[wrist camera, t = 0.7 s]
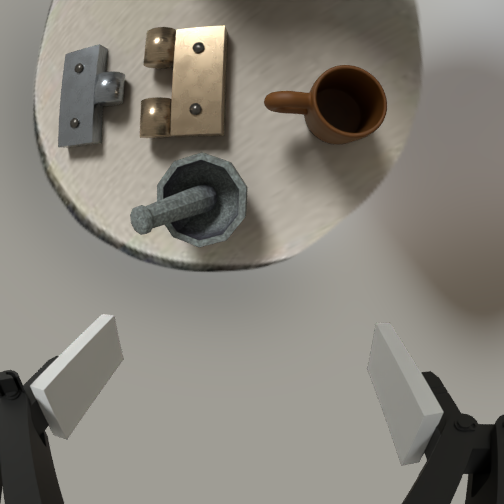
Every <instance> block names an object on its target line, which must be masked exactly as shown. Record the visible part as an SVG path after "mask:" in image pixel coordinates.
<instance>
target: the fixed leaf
mask: <svg viewBox="0 0 504 504" xmlns="http://www.w3.org/2000/svg"><path fill="white" fill-rule="evenodd" d="M227 36H228V33H227V30H226V28H225V26H209V27H197V28H187V29H179V30H175V29H173V28H168V27H158V28H153V29H151V30H149V31H148V32H147V36H146V45H145V55H144V66H146V67H149V68H169V67H172V66H173V82H172V99H170V98H148V99H144V100H142V101H141V115H140V138H165V137H172V136H175V137H186V136H224V123H225V88H226V59H227Z"/></svg>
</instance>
